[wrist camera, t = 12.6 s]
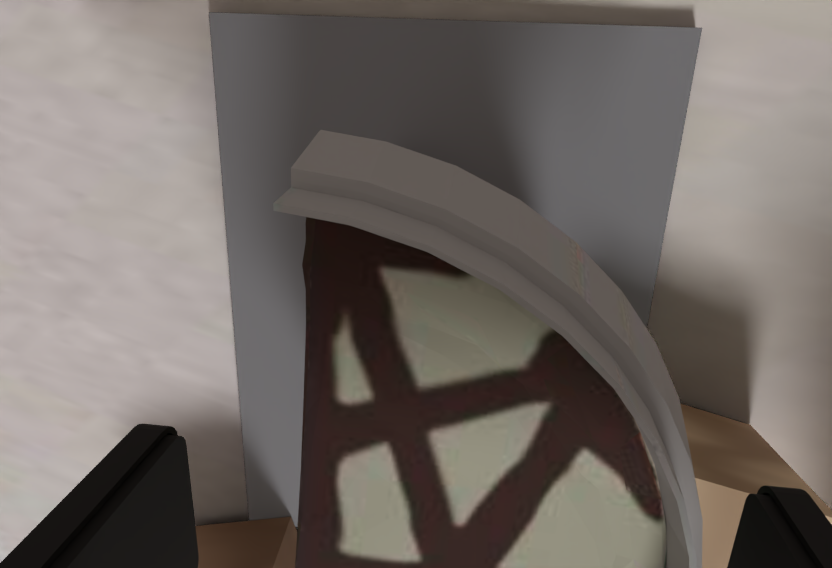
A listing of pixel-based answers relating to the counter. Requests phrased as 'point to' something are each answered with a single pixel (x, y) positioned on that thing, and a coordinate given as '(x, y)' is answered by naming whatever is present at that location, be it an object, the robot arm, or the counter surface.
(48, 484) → the counter surface
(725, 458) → the oak block
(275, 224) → the mat
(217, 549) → the walnut cube
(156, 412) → the counter surface
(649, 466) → the food container
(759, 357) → the counter surface
